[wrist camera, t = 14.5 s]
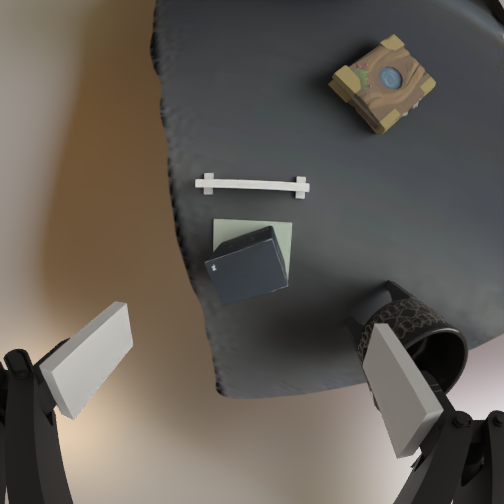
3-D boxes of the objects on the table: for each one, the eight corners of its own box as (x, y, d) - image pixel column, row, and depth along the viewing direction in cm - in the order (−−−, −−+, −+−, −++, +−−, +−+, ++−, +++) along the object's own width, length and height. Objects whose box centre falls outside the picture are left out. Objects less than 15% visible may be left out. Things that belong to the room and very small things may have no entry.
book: (384, 44, 30) (394, 31, 26) (429, 93, 32) (444, 85, 27) (327, 85, 34) (334, 73, 29) (378, 140, 35) (391, 134, 30)
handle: (205, 173, 38) (195, 171, 33) (305, 177, 37) (309, 175, 32) (204, 194, 38) (195, 195, 33) (304, 198, 37) (308, 200, 32)
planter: (358, 265, 39) (410, 318, 22) (423, 286, 39) (484, 335, 22) (329, 338, 42) (353, 415, 25) (392, 351, 42) (431, 417, 25)
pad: (214, 218, 39) (213, 219, 39) (291, 222, 38) (292, 223, 38) (213, 278, 41) (213, 279, 41) (287, 283, 40) (287, 284, 40)
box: (234, 278, 40) (221, 308, 30) (220, 242, 39) (202, 261, 29) (285, 261, 39) (289, 287, 29) (272, 224, 38) (272, 237, 28)
